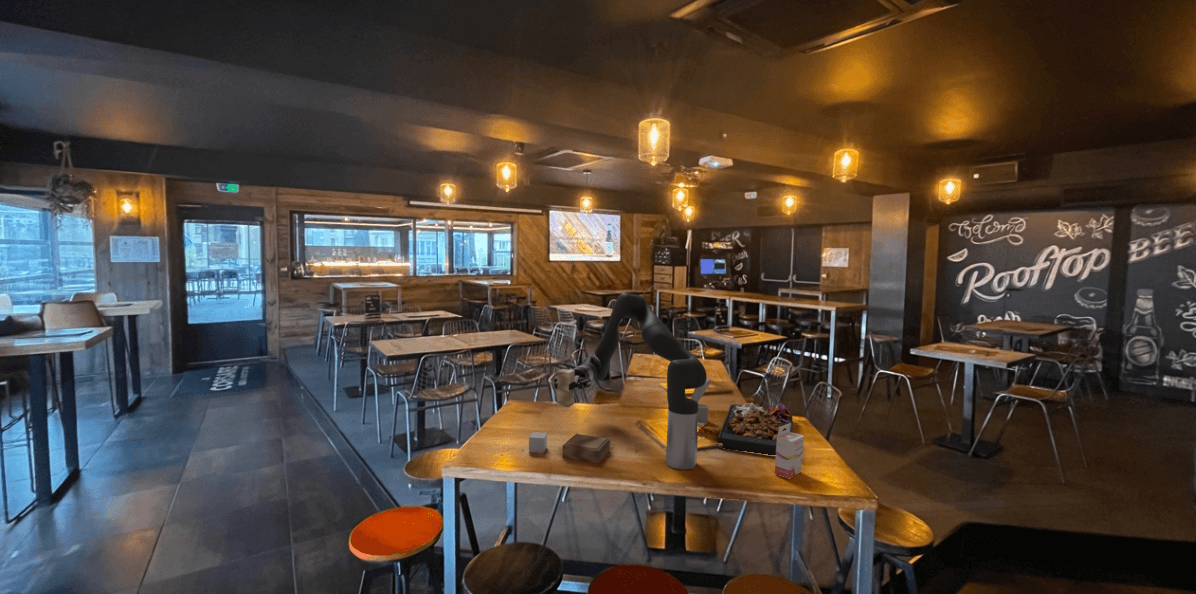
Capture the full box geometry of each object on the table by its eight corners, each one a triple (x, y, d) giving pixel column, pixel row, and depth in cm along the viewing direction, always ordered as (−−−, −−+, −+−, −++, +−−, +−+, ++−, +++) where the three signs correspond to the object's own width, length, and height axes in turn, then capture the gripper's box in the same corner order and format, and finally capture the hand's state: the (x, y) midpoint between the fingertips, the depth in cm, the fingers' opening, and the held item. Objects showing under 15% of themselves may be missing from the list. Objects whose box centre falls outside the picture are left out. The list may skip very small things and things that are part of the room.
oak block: (573, 404, 180) (574, 370, 179) (568, 407, 176) (569, 372, 175) (561, 402, 182) (562, 368, 181) (556, 405, 177) (557, 371, 176)
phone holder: (685, 416, 213) (687, 373, 212) (709, 420, 208) (712, 376, 207) (671, 428, 197) (673, 381, 196) (697, 432, 193) (699, 385, 192)
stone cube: (546, 447, 173) (547, 433, 172) (543, 453, 168) (544, 438, 167) (531, 446, 173) (532, 432, 173) (528, 452, 168) (529, 437, 168)
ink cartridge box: (789, 480, 153) (792, 431, 152) (773, 475, 156) (776, 427, 155) (802, 472, 159) (805, 426, 158) (786, 467, 162) (789, 422, 161)
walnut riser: (609, 450, 172) (610, 437, 171) (598, 463, 160) (598, 450, 160) (575, 445, 176) (576, 432, 175) (562, 457, 164) (562, 444, 164)
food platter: (730, 414, 220) (731, 390, 219) (791, 422, 211) (793, 398, 211) (717, 450, 177) (718, 420, 177) (793, 461, 169) (795, 431, 168)
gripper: (563, 364, 194) (543, 373, 178) (599, 368, 189) (582, 378, 173) (562, 384, 194) (543, 395, 178) (598, 388, 190) (582, 400, 173)
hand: (562, 386), depth 176 cm, fingers closed on oak block, 4 cm apart
